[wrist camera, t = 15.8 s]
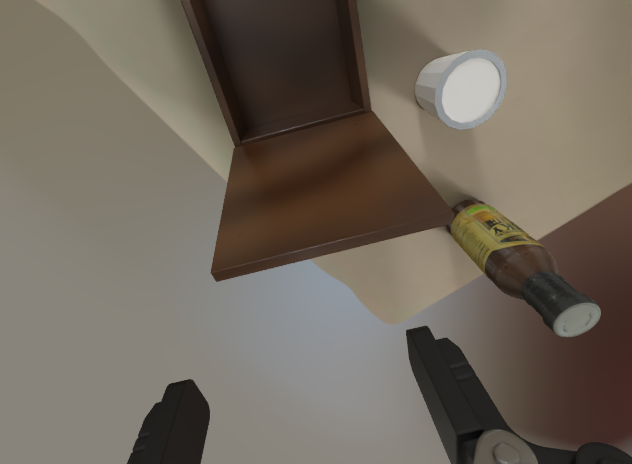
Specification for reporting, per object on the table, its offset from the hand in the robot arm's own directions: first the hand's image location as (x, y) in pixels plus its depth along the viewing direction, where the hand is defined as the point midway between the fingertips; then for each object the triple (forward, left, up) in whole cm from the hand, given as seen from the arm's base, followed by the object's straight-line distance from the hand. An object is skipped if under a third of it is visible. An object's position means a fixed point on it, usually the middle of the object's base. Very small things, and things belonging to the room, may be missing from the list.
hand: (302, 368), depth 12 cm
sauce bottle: (+15, +21, -30) cm, 40 cm away
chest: (-11, +2, -30) cm, 32 cm away
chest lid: (-2, +2, -15) cm, 15 cm away
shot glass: (-3, +18, -30) cm, 35 cm away
